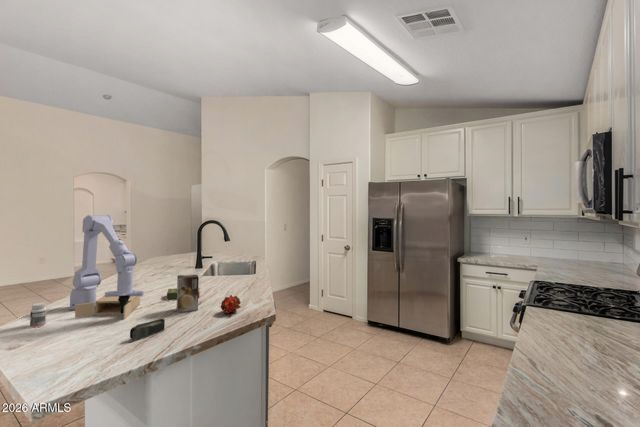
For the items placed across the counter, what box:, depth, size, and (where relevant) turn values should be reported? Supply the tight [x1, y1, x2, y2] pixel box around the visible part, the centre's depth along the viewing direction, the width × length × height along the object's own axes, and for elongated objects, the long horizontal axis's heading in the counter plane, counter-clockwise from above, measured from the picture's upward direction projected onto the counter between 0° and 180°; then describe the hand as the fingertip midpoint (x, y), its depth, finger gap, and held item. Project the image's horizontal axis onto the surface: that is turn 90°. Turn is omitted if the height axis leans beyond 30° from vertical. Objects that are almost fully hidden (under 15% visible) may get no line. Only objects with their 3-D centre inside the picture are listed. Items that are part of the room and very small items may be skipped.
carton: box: [166, 287, 200, 301], centre depth 174 cm, size 8×16×4 cm, turn 111°
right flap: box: [122, 302, 132, 320], centre depth 140 cm, size 7×1×5 cm, turn 10°
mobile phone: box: [127, 318, 166, 343], centre depth 122 cm, size 5×3×15 cm
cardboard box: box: [94, 294, 141, 316], centre depth 149 cm, size 14×14×6 cm
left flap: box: [74, 302, 95, 319], centre depth 138 cm, size 7×1×5 cm, turn 128°
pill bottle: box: [29, 302, 47, 328], centre depth 127 cm, size 5×5×8 cm
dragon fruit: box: [220, 294, 242, 315], centre depth 152 cm, size 8×8×12 cm
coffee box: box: [176, 273, 200, 313], centre depth 154 cm, size 9×6×16 cm
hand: (123, 313), depth 139 cm, fingers closed, pressing on right flap
